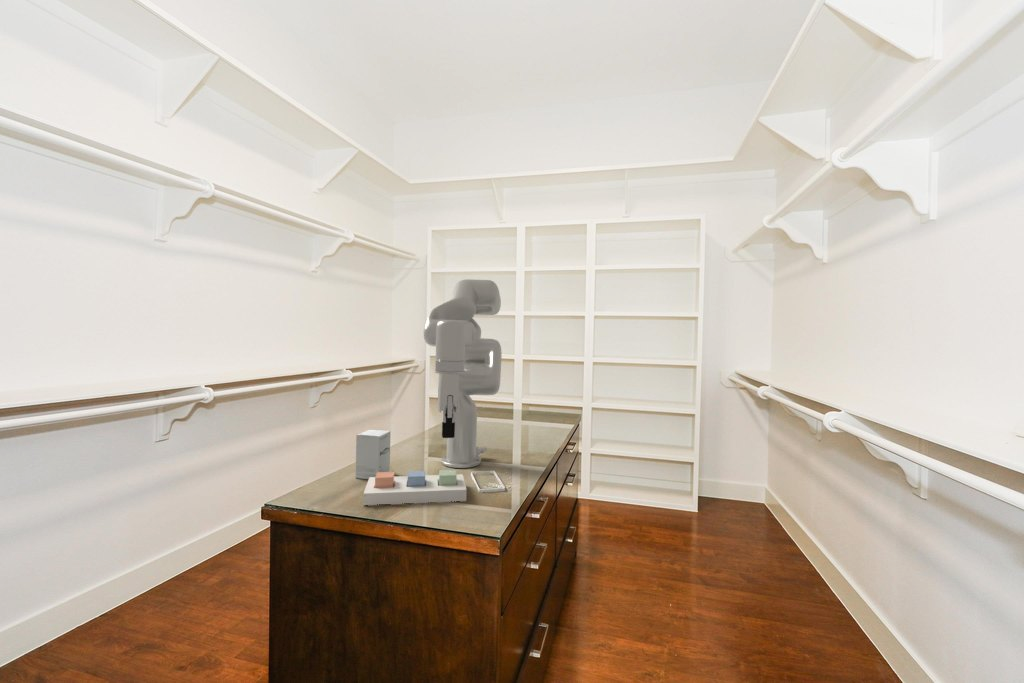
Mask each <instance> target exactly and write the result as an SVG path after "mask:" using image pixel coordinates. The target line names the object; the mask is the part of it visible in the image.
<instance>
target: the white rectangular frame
mask: <svg viewBox="0 0 1024 683" xmlns="http://www.w3.org/2000/svg"><path fill="white" fill-rule="evenodd" d="M477 473H490V475H494V476H496V477H495V478H496V480H497V482H498V483H499V484H501V485H500V486H501V487H499V488H498V487H495V488H482V489H481V488H480V487H479V485H478V483H477V480H476V479H475V476H474V475H473V474H475V475H476V474H477ZM470 478H471V479H472V481H474V482H473V484H474V483H475V484H474V486H475V487H476V488H477V493H479V492H480V493H479V494H481V493H482V494H483V492H485V493H498V492H500V493H501V492H506V486H505V484H504V483H503V482H502V480H501V479H500V477H499V476H498V473H497V472H496V471H495V470H487V471H486V470H483V471H471V472H470Z"/></svg>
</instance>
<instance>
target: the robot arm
mask: <svg viewBox="0 0 1024 683" xmlns="http://www.w3.org/2000/svg"><path fill="white" fill-rule="evenodd" d="M450 296H451V297H450V299H449V300H448V301H445V302H443V303H442V304H440V305H438V306H436V307H434V308H433V309H432V310H431V311H430V312H429V314H428V316H427V319H426V322H425V323H424V328H423V338H424V342H425V343H426V344H427V345H428V346H430V347H435V363H434V364H435V366H434V367H435V368H434V369H435V370H434V372H435V374H438V386H437V387H438V388H437V408H438V409H437V410H438V412H439V413H442V412H443V414H442V422H441V424H442V425H441V437H442V438H443V439H446V455H445V456H443V457H441V460H440V461H441V464H442V465H443V466H445V467H449V468H453V469H468V468H474V467H477V466H479V465H480V464H481V462H482V461H481V460H482V458H481V457H480V456H479V455H480V454H484V453H486V452H487V450H488V449H487V447H486V446H481V447H478V446H477V436H478V435H477V434H478V433H477V431H478V427H477V426H478V407H477V405H476V402H474V400H473V399H472V398H471V396H494V395H496V394H497V393H498V392H499V390H500V386H501V377H502V376H501V373H502V356H503V355H502V346H501V343H500V342H499V340H497V339H493V338H483V337H482V328H481V327H480V325H479V324H478V322H477V321H476V320H475V319H474V317H475V315H477V316H495V315H497V314H499V312H500V310H501V306H502V305H501V303H502V302H501V295H500V290H499V287H498V285H497V283H495V281H493V280H491V279H468V278H467V279H462V280H459V281H458V282H456V283H455V285H454V287H453V290H452V293H451V295H450Z"/></svg>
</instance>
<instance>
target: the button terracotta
mask: <svg viewBox="0 0 1024 683" xmlns="http://www.w3.org/2000/svg"><path fill="white" fill-rule="evenodd" d="M394 476H395V471H390V472H377V474H376V477H375V488H391V487H394Z"/></svg>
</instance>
